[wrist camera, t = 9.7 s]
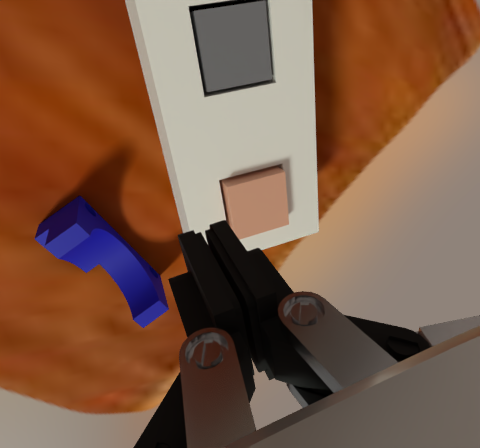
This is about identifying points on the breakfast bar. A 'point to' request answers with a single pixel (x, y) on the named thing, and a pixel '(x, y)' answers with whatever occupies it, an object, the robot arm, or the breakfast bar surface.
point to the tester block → (232, 114)
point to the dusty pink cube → (255, 201)
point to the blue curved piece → (104, 256)
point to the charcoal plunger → (232, 45)
